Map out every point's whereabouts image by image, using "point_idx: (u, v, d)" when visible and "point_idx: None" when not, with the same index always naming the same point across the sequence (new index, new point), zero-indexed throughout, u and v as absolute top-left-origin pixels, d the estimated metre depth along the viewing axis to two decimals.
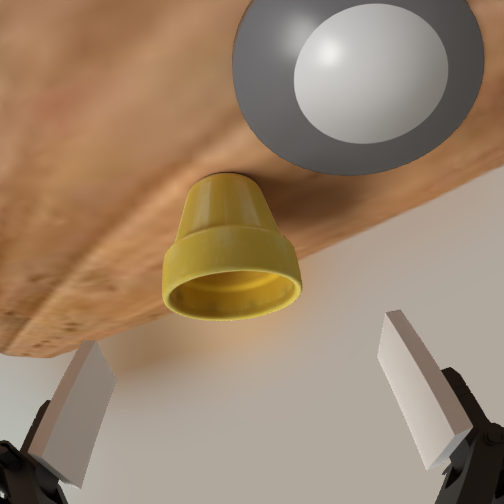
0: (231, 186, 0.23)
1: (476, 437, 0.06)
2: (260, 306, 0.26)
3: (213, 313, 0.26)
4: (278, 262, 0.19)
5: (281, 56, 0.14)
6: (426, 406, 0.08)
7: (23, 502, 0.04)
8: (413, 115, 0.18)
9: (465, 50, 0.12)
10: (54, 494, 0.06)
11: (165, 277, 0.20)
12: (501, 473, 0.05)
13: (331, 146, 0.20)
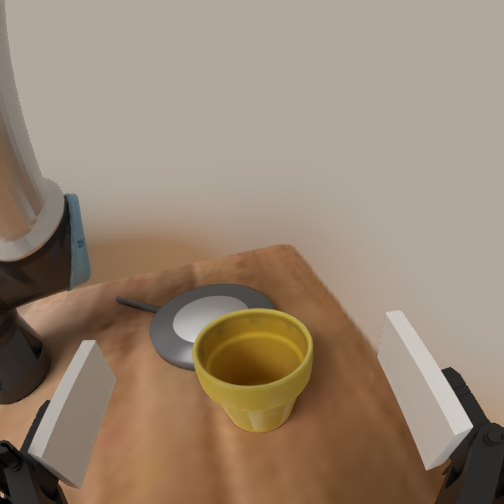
0: None
1: (476, 437, 0.06)
2: (305, 343, 0.25)
3: None
4: None
5: (176, 342, 0.38)
6: (426, 406, 0.08)
7: (23, 502, 0.04)
8: (238, 306, 0.44)
9: (210, 290, 0.48)
10: (54, 494, 0.06)
11: (198, 374, 0.23)
12: (501, 473, 0.05)
13: None
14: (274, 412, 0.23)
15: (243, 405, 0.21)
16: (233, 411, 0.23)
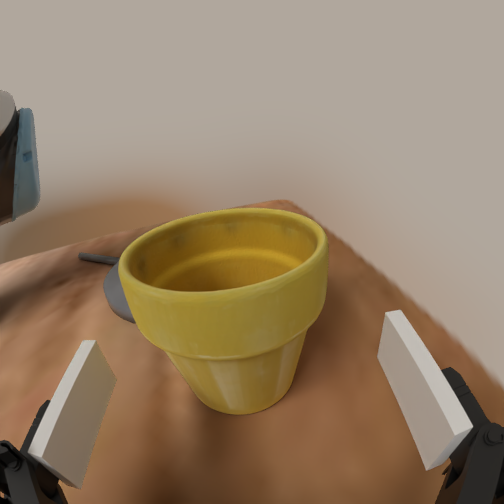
0: None
1: (476, 437, 0.06)
2: (314, 242, 0.15)
3: None
4: None
5: None
6: (426, 406, 0.08)
7: (23, 502, 0.04)
8: None
9: None
10: (54, 494, 0.06)
11: (123, 289, 0.13)
12: (501, 473, 0.05)
13: None
14: (261, 369, 0.13)
15: (195, 342, 0.11)
16: (186, 367, 0.13)
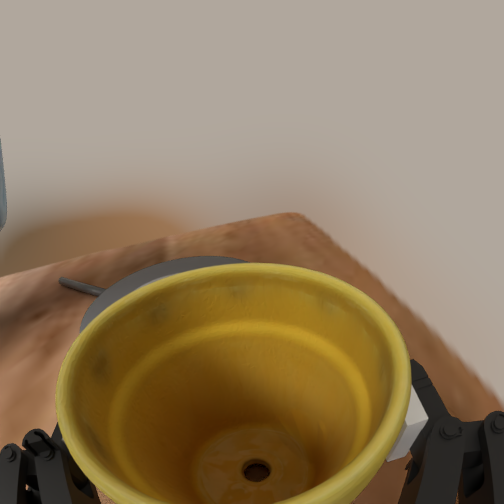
0: None
1: (431, 432, 0.06)
2: (378, 343, 0.08)
3: (352, 461, 0.05)
4: None
5: None
6: None
7: (52, 494, 0.05)
8: None
9: (182, 265, 0.32)
10: (85, 485, 0.07)
11: None
12: (469, 471, 0.06)
13: None
14: None
15: None
16: None
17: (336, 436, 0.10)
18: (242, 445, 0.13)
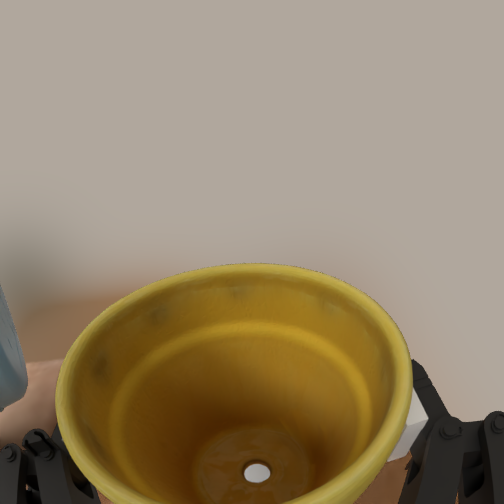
0: None
1: (431, 432, 0.06)
2: (379, 344, 0.08)
3: None
4: None
5: None
6: None
7: (52, 494, 0.05)
8: None
9: None
10: (85, 485, 0.07)
11: None
12: (469, 471, 0.06)
13: None
14: None
15: None
16: None
17: (336, 437, 0.10)
18: (243, 445, 0.13)
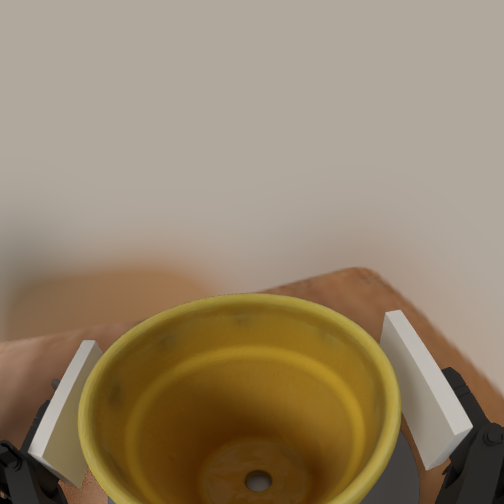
0: None
1: (476, 437, 0.06)
2: (373, 378, 0.09)
3: (345, 487, 0.05)
4: None
5: None
6: (426, 406, 0.08)
7: (23, 502, 0.04)
8: None
9: None
10: (54, 494, 0.06)
11: None
12: (501, 473, 0.05)
13: None
14: None
15: None
16: None
17: (332, 453, 0.10)
18: (245, 457, 0.14)
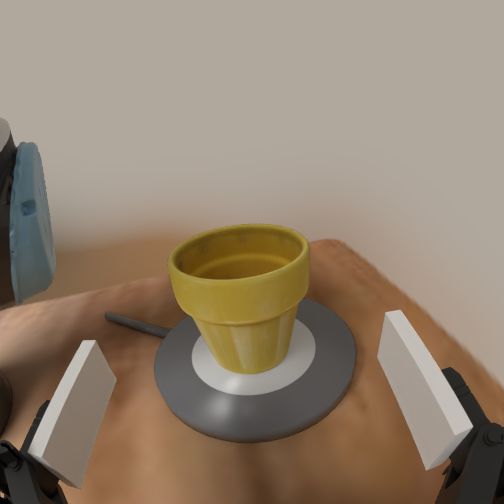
0: None
1: (476, 437, 0.06)
2: (300, 248, 0.22)
3: None
4: None
5: (201, 392, 0.21)
6: (426, 406, 0.08)
7: (23, 502, 0.04)
8: (293, 328, 0.28)
9: None
10: (54, 494, 0.06)
11: (172, 281, 0.20)
12: (501, 473, 0.05)
13: (306, 381, 0.21)
14: (265, 334, 0.20)
15: (224, 312, 0.18)
16: (214, 334, 0.20)
17: None
18: None
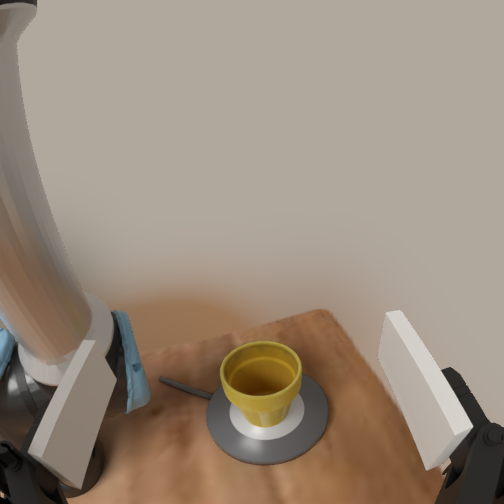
0: None
1: (476, 437, 0.06)
2: (297, 366, 0.36)
3: None
4: None
5: (238, 438, 0.36)
6: (426, 406, 0.08)
7: (23, 502, 0.04)
8: None
9: None
10: (54, 494, 0.06)
11: (225, 389, 0.34)
12: (501, 473, 0.05)
13: (298, 431, 0.36)
14: (276, 412, 0.34)
15: (256, 408, 0.32)
16: (248, 412, 0.34)
17: None
18: None
